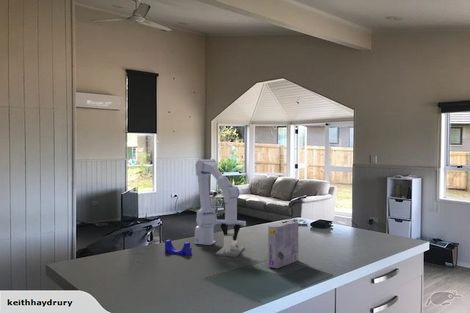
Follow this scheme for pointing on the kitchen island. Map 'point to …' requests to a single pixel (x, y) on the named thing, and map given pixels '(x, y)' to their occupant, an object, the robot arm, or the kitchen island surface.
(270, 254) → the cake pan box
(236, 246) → the pin tray
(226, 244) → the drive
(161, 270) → the kitchen island surface
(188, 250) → the cable clip
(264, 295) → the kitchen island surface
